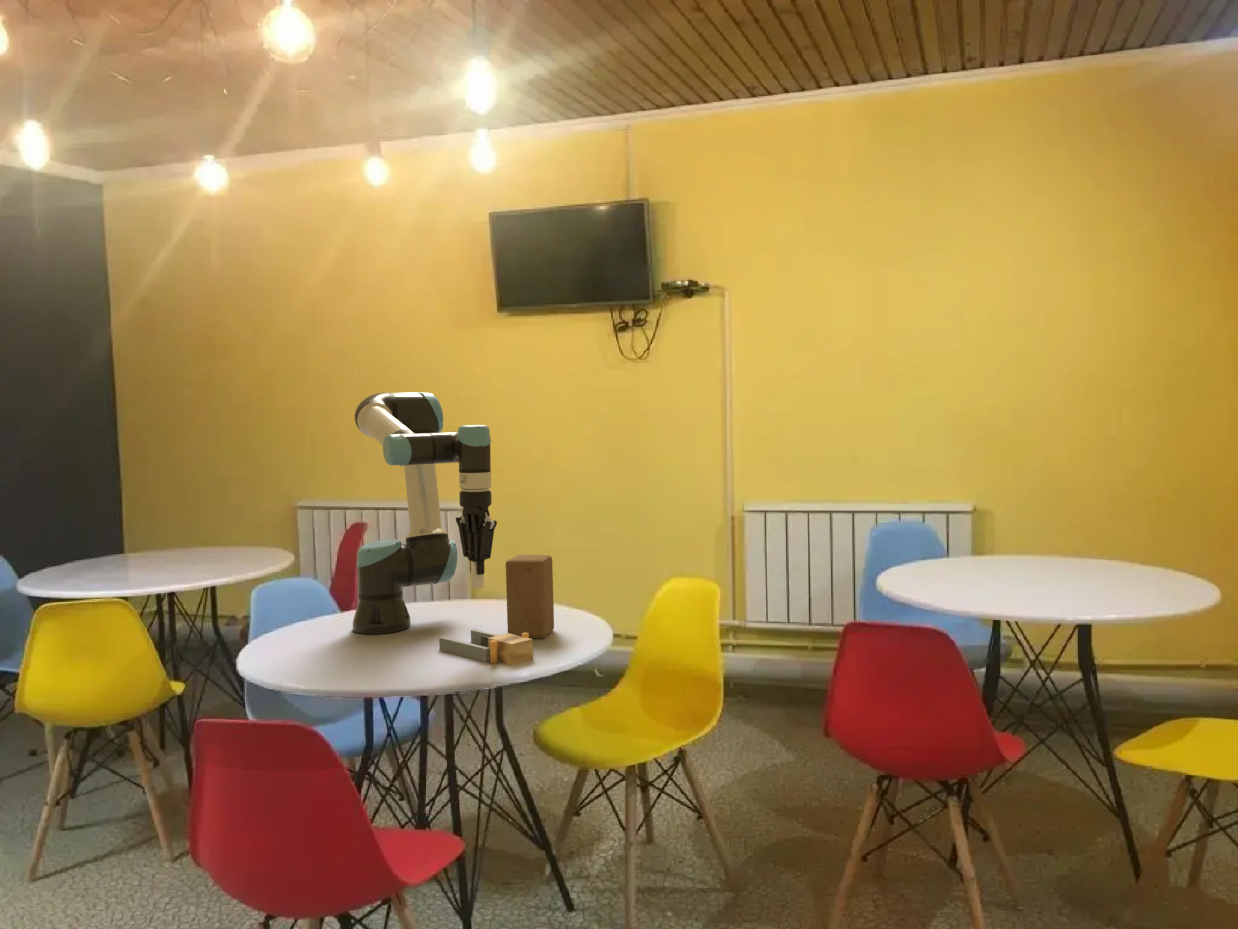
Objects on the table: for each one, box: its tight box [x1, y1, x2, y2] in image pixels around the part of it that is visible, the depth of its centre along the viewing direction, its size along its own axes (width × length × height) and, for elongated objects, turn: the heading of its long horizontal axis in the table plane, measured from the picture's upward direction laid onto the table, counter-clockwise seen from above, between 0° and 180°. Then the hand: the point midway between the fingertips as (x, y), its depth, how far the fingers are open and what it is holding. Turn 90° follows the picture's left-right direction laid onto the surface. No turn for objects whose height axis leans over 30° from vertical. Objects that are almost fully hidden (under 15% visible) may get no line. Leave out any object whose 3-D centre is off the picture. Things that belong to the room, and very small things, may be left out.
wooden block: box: [505, 554, 555, 640], centre depth 236 cm, size 10×10×20 cm
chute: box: [438, 628, 529, 665], centre depth 219 cm, size 21×11×5 cm, turn 47°
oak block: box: [488, 632, 534, 666], centre depth 213 cm, size 9×6×5 cm, turn 45°
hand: (477, 587), depth 220 cm, fingers closed
